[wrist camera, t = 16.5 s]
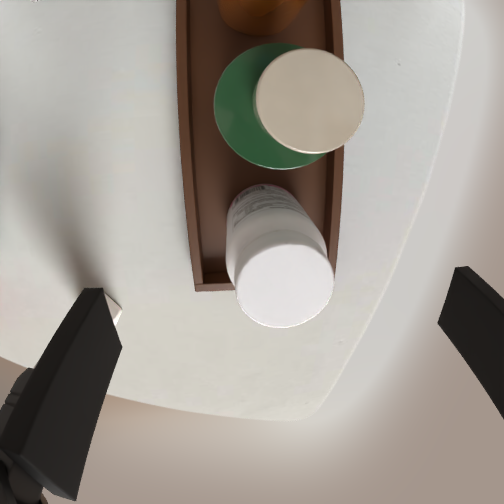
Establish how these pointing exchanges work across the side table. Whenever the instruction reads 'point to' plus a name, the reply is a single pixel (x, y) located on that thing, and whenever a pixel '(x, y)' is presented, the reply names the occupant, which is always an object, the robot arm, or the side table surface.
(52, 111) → the side table surface
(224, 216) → the tray
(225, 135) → the green bottle
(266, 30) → the amber bottle
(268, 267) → the pill bottle
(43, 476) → the robot arm
